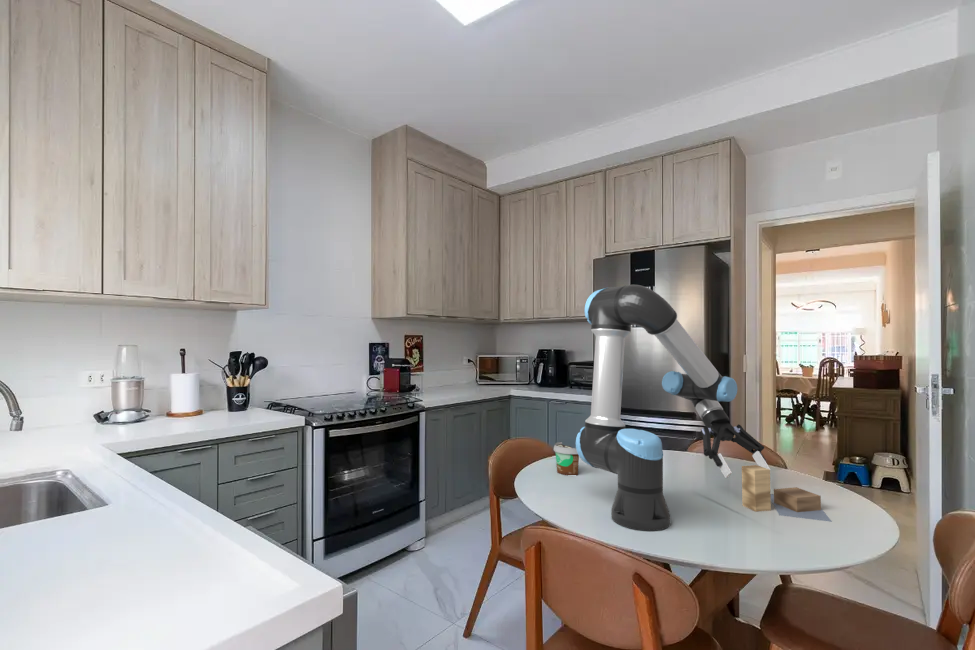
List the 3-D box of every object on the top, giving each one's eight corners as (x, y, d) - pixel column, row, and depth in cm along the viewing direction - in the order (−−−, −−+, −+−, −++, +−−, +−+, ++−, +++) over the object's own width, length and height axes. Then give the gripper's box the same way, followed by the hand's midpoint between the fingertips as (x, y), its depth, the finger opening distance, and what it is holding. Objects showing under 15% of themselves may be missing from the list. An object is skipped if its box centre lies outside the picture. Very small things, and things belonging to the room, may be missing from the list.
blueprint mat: (832, 523, 124) (832, 521, 124) (779, 517, 129) (779, 515, 129) (812, 500, 142) (812, 498, 142) (767, 495, 147) (767, 493, 147)
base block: (820, 510, 132) (820, 495, 133) (797, 512, 131) (796, 497, 131) (796, 500, 140) (796, 487, 140) (774, 502, 138) (773, 489, 139)
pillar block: (770, 512, 132) (770, 469, 133) (755, 513, 131) (754, 470, 132) (757, 506, 137) (756, 465, 138) (742, 507, 136) (741, 465, 136)
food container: (547, 469, 176) (547, 442, 177) (560, 467, 179) (560, 441, 179) (565, 478, 165) (565, 449, 166) (580, 476, 168) (580, 448, 168)
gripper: (739, 420, 159) (776, 477, 144) (674, 423, 154) (705, 483, 139) (750, 406, 154) (790, 464, 139) (684, 409, 149) (718, 470, 134)
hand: (748, 474), depth 139 cm, fingers open, 13 cm apart
